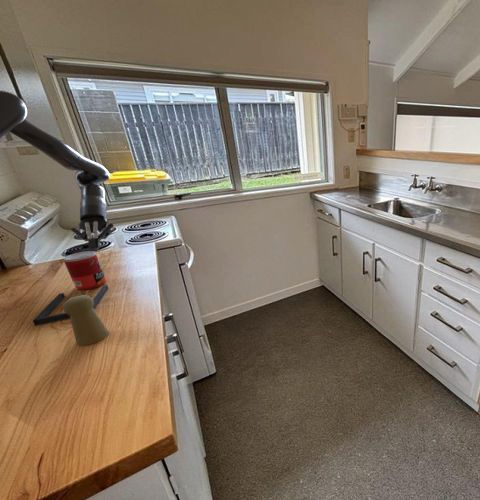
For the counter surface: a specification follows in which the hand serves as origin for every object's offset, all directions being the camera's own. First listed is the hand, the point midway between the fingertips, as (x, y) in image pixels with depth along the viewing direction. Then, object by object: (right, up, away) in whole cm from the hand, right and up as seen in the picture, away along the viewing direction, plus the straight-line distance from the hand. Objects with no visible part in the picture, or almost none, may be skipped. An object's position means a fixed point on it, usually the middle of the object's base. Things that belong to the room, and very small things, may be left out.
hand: (94, 249), depth 102 cm
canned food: (+6, -12, -7) cm, 15 cm away
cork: (+30, -22, -33) cm, 50 cm away
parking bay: (+12, -17, -19) cm, 28 cm away
